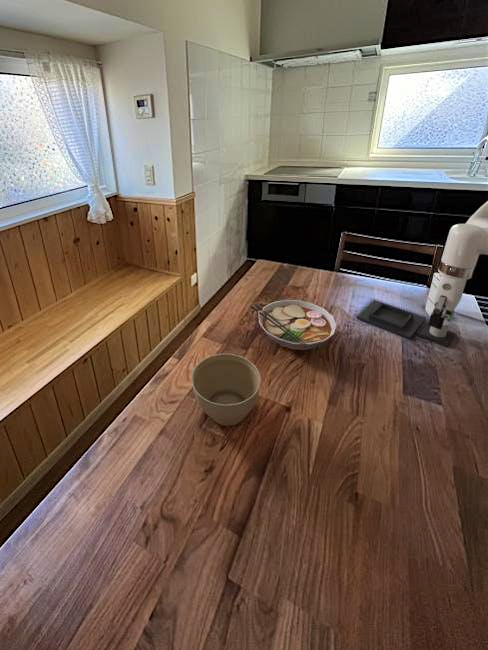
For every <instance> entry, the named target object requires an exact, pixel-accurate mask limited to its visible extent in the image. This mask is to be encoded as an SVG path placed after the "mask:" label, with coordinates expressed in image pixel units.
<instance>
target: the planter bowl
mask: <svg viewBox="0 0 488 650" xmlns="http://www.w3.org/2000/svg"><path fill="white" fill-rule="evenodd" d="M190 379H191V381H190V382H191V387H192V389H193V393H194V397H195V399H196V401H197V403H198V405H199V407H200V408H201V409H202V411H203V412H204V413H205V414H206V415H207V416H208V417H210V418H211V420H212V421H213V422H215V423H216V424H219V425H221V426H225V427H229V426H235V425H237V424H239V423H241V422H242V421H243V420H244V419H245V417H247V416H248V415H249V414H250V412H251V411H252V410H253V408H254V407H255V405H256V403H257V401H258V398H259V394H260V389H261V383H262V381H261V380H262V379H261V374H260V372H259V370H258V367H257V366H256V365H255V364H254V363H253V362H252V361H251V360H249V359H248V358H245V357H243V356H241V355H239V354H238V355H237V354H235V353H234V354H232V353H217V354H213V355H210V356H207V357H206V358H203V359H202V360H201V361H199V362H198V363H197V364H196V366H194V369H193V371H192V373H191V378H190Z"/></svg>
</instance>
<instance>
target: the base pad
mask: <svg viewBox="0 0 488 650" xmlns="http://www.w3.org/2000/svg"><path fill="white" fill-rule="evenodd" d="M356 320H358V321H361V322H363V323H366V324H368V325H371V326H374V327H376V328H379V329H381V330H384V331H386V332H388V333H391V334H394V335H396V336H399V337H401V338H404V339H406V340H410V341H411V339H412V338H413V336H414V335H415V334H416V332H417V331H418V330H419V329H420V327H421V326H422V325H423V324H424V322H425V321H426V317H425V316H423V315H419V314H417V313H414V312H412V311H408V310H405V309H403V308H399V307H396V306H393V305H390V304H388V303H385V302H381V301H378V300H376V299H374V300H372V301H371V302H370V303H369V304H368V305H367V306H366V307H365V308H364V309H363V310H362V311H361V312H359V314H358V315H356Z"/></svg>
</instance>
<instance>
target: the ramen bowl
mask: <svg viewBox="0 0 488 650" xmlns="http://www.w3.org/2000/svg"><path fill="white" fill-rule="evenodd" d="M250 309H252V310H253V311H255V312H256V313H257V314H258V323H259V325H260V327H261V328H262V331H264V333H265V334H266V335H267V336H268V338H269V339H270V340H272V341H273V342H274V343H276V344H278V345H280V346H281V347H284V348H288V349H292V350H298V351H299V350H300V351H301V350H302V351H306V350H308V351H310V350H312V349H315V348H318V347H320V346H321V345H322V344H325V342H327V340H329V339H331V338H332V337H333V336H334V335H335V331H336V328H337V322H336V321H335V319H334V316H333V315H332V314H331V313H330V312H328V311H327V309H325V308H324V307H321V306H319V305H316V304H314V303H312V302H308V301H304V300H299V299H283V300H277V301H274V302H271V303H269V304H267V305H265V306H263V307H262V306H260V305H259V304H258V303H255V304H254V305H252V304H251V305H250Z"/></svg>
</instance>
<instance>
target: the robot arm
mask: <svg viewBox="0 0 488 650" xmlns="http://www.w3.org/2000/svg"><path fill="white" fill-rule="evenodd" d="M480 255H486V256H488V200H487V201H486V202H485V203H483V205H481V206H480V207H479V208H477V210H476V211H475V212H474V213H473V214H472V215H471V216H470V217H469V218H468V220H467V221H466V222H465V223H457V224H454V225H452V226H451V227H450V229H449V232H448V234H447V239H446V242H445V245H444V248H443V252H442V256H441V259H440V262H439V266H438V269H437V271H438V273H441V274H442V275H441V278H440V281H439V284H438V287H437V290H436V294H435V297H434V301H433V305H434V306H435V307H434V309H433V312H432V313H431V316H429V319H428V323H427V324H428V325H429V326H432V327H434V328H437V329H441V328H442V325H443V322H444V319H445V317H444V315H445V314H447V315H451V313H452V311H455V310H456V308H457V307H458V305H459V303H460V302H461V301H462V298H463V293H464V290H465V287H466V284H467V280H470V279H472V277H473V274H474V271H475V268H476V266H477V262H478V260H479V257H480Z"/></svg>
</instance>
